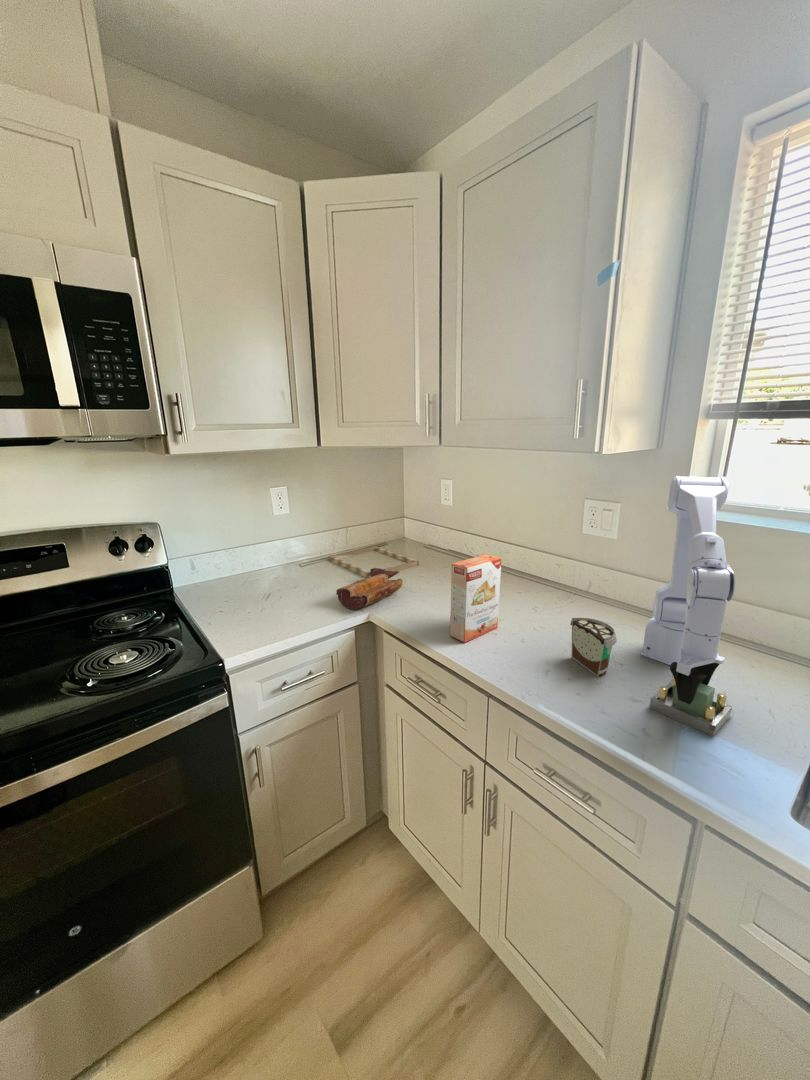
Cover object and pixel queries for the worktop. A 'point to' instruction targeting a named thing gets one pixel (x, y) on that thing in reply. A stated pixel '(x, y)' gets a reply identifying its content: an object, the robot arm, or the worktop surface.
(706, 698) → the block
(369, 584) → the cured meat
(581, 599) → the worktop surface
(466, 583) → the cracker box
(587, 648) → the food container
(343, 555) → the rim
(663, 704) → the chassis
